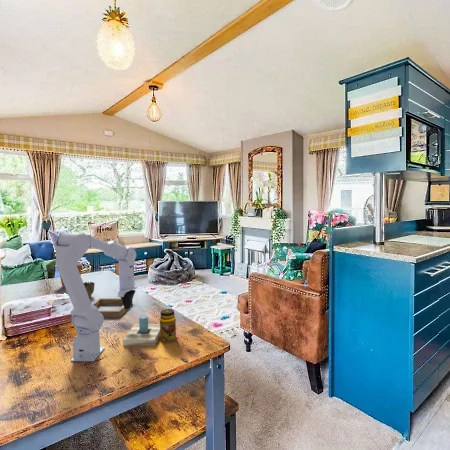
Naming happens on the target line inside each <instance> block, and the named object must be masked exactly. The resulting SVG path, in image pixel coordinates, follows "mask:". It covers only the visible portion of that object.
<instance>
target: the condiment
mask: <svg viewBox="0 0 450 450" xmlns="http://www.w3.org/2000/svg"><path fill="white" fill-rule="evenodd" d="M176 323H177V322H176V316H175V310H174V309H171V308H166V309H163V310H161V311H160V318H159V324H160V337H159V340H160V342H161V343H163V344H169V343H173V342H176V339H177V324H176Z"/></svg>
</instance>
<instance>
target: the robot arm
mask: <svg viewBox="0 0 450 450" xmlns="http://www.w3.org/2000/svg"><path fill="white" fill-rule="evenodd" d="M53 246H54V248H55V266H56V267H57V272H58V273H59V277H60V276H61V278H62V281H63V283H64V285H65V288H64V289H65V290H66V293H67V295H68V297H69V300H70V302H71V304H72V307H73V308H72V309H71V311H70V316H71V324H72V326H74V328H75V330H76V336H75V338H74V340H72V356H73V357H72V358H71V359H70V361H71V362H95V360H97V358H98V357H99V355H101V353H102V352H103V351H104V350H105V348H106V347H105V346H101V341H100V339H101V337H100V330H101V328H102V327H103V324H104V322H105V321H104V320H105V318H104V317H103V315H102V314H101V313H100V312H99V311H100V309H99V307H98V308H97V307H95V306H94V305H93V303H92V302H91V300H90V298H89V296H88V294H87V291H86V289H85V286H84V283H85V282H83V278H82V275H81V276H80V273H79V270H78V268H77V265H76V263H78V262H79V261H80V260H81V259H82V258H83V257H84V256H85V254H86V253H87V252H88V250H89V249H96V250H99V251H102V252H103V254H104V255H105V256H107V257H110V258H113V259H115V260H116V261H118V279H119V287H118V292H117V297H118V298H121V299H122V302H123V305H124V308H125V309H127V310H131V308H132V305H133V304H132V302H133V298H134V296H135V293H136V290H137V289H138V285H136V282H135V271H134V270H135V267H134V266H135V263H136V262H135V260H136V258H137V253H136V252H137V251H136V250H135V248H133V247H129V246H126V245H125V244H124V243H122V244H121V243H118V241H117V240H114V239H113V240H108V241H107V242H106V241H104V240H102V239H100V238H97V237H95V236H93V235H90V234H86V233H74V232H73V233H72V232H66V231H65V232H61V233H60V234H59V235H57V237H56V239H55V241H54V243H53ZM61 278H60V279H61ZM123 305H122V306H123Z"/></svg>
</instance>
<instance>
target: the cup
mask: <svg viewBox="0 0 450 450" xmlns="http://www.w3.org/2000/svg"><path fill="white" fill-rule="evenodd" d="M83 283H84V286H85V289H86V291H87V294H88V296H89V299H90V298H92V294H94V292H95V285H96V284H95V282H93V281H85V282H83Z"/></svg>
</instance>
